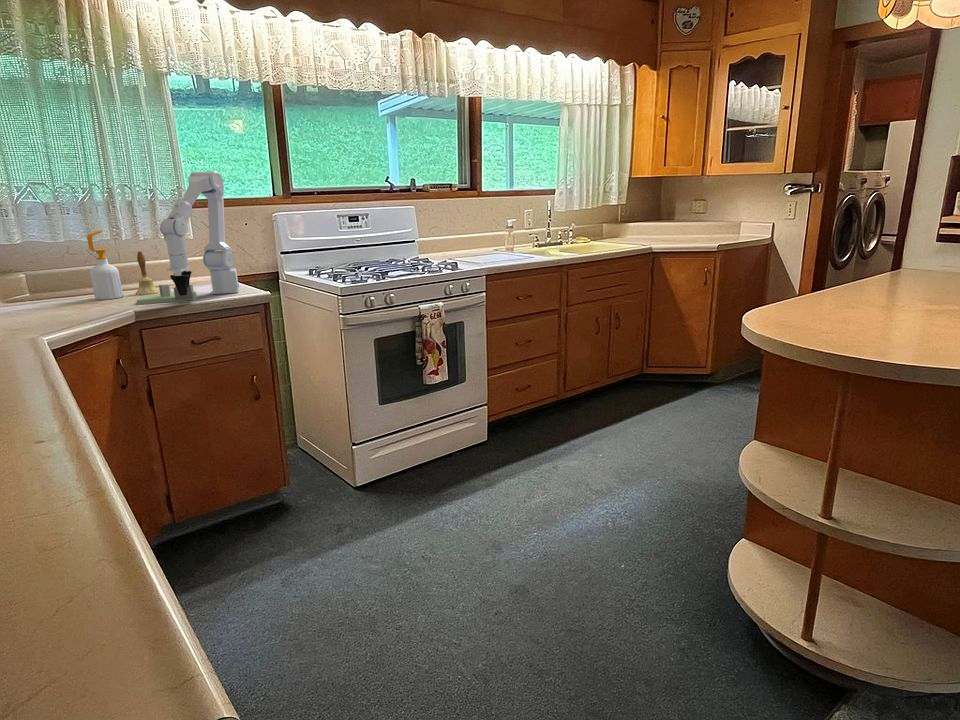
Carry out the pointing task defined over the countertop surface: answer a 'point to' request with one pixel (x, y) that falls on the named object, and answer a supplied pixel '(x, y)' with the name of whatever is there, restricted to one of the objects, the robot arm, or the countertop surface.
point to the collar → (189, 295)
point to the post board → (161, 296)
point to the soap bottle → (104, 275)
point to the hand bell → (145, 279)
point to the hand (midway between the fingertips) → (184, 293)
